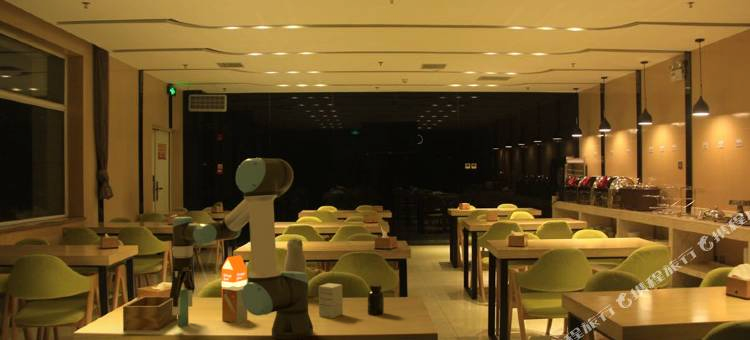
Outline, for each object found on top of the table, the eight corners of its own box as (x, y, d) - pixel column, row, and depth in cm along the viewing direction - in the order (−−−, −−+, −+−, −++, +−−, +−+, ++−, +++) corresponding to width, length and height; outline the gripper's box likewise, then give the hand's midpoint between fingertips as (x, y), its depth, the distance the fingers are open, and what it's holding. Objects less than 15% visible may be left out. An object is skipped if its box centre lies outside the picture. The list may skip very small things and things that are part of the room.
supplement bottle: (364, 314, 242) (364, 285, 242) (372, 311, 248) (372, 283, 248) (379, 316, 239) (379, 287, 239) (386, 312, 245) (386, 284, 245)
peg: (190, 325, 227) (189, 289, 227) (180, 327, 224) (179, 291, 224) (186, 323, 230) (186, 288, 230) (176, 325, 227) (176, 289, 228)
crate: (177, 318, 238) (177, 296, 238) (159, 330, 220) (159, 306, 220) (143, 318, 238) (143, 296, 238) (123, 330, 220) (123, 306, 220)
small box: (221, 320, 234) (221, 288, 234) (233, 317, 239) (232, 285, 239) (237, 323, 230) (236, 290, 230) (247, 319, 235) (247, 287, 235)
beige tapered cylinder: (309, 295, 282) (308, 237, 282) (300, 299, 272) (300, 239, 272) (290, 293, 284) (290, 236, 285) (281, 298, 275) (281, 239, 275)
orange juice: (246, 297, 277) (246, 255, 277) (233, 301, 270) (233, 258, 270) (235, 295, 281) (234, 254, 281) (221, 299, 274) (221, 256, 274)
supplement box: (328, 312, 246) (328, 282, 247) (343, 314, 243) (343, 284, 243) (318, 316, 240) (318, 285, 240) (333, 318, 236) (332, 287, 236)
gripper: (184, 251, 240) (184, 303, 240) (160, 261, 215) (160, 318, 215) (202, 251, 240) (202, 303, 240) (180, 261, 215) (180, 318, 215)
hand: (182, 310), depth 227 cm, fingers open, 13 cm apart
